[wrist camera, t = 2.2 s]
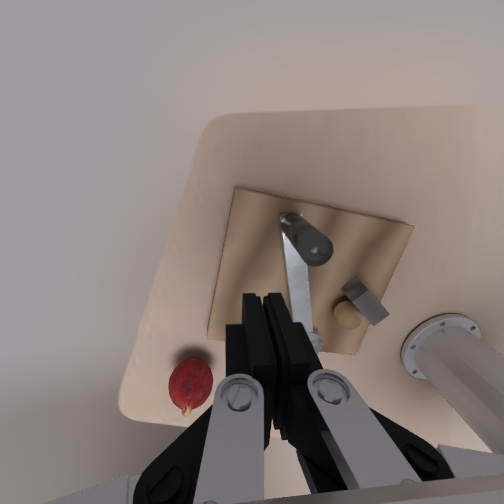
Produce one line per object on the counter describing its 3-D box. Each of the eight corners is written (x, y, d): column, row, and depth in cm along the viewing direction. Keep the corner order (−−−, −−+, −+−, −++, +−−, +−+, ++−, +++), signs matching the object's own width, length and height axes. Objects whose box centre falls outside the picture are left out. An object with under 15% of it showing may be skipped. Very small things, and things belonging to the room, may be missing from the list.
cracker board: (403, 222, 32) (437, 236, 27) (349, 345, 39) (368, 375, 34) (234, 186, 29) (237, 194, 23) (207, 329, 35) (204, 359, 30)
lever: (319, 348, 36) (348, 409, 27) (289, 354, 36) (309, 418, 27) (307, 206, 28) (344, 230, 19) (268, 213, 28) (288, 241, 19)
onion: (175, 344, 36) (162, 394, 28) (216, 346, 37) (213, 396, 29) (173, 375, 38) (160, 429, 30) (211, 376, 39) (208, 430, 31)
